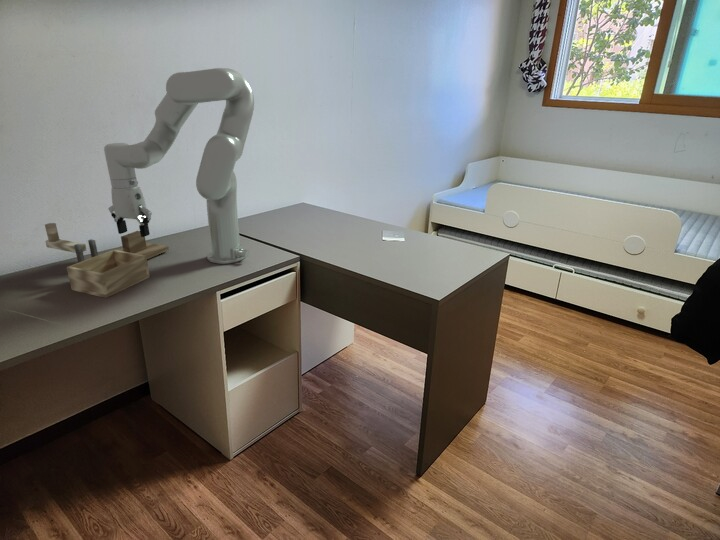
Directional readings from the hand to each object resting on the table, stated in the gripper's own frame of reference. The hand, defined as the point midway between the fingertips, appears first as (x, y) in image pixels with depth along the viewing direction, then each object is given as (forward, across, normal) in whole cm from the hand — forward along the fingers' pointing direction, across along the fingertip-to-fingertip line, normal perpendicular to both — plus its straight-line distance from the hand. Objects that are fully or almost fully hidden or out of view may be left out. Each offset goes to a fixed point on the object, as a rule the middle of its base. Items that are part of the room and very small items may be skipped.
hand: (134, 234), depth 156 cm
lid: (+7, +1, 0) cm, 7 cm away
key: (-1, +6, +20) cm, 21 cm away
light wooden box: (+8, -9, +20) cm, 24 cm away
